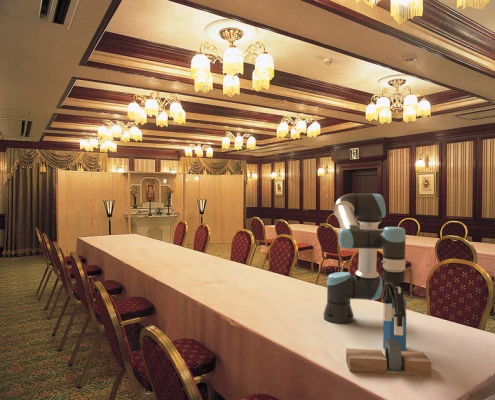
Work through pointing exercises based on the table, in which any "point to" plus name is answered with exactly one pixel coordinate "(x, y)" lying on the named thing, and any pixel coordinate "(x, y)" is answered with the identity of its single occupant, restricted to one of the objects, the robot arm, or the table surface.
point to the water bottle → (389, 330)
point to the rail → (378, 363)
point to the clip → (393, 355)
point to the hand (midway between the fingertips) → (392, 327)
